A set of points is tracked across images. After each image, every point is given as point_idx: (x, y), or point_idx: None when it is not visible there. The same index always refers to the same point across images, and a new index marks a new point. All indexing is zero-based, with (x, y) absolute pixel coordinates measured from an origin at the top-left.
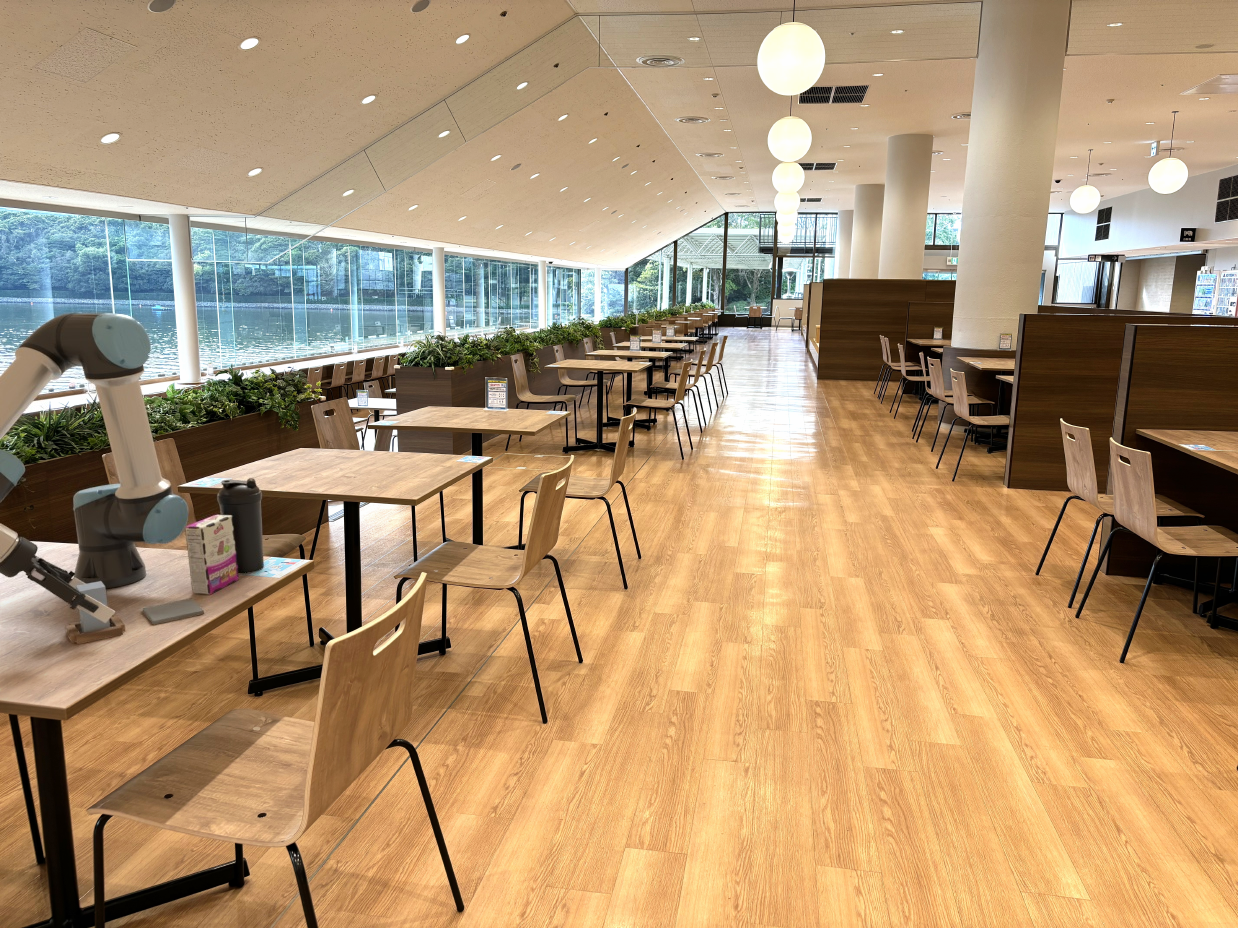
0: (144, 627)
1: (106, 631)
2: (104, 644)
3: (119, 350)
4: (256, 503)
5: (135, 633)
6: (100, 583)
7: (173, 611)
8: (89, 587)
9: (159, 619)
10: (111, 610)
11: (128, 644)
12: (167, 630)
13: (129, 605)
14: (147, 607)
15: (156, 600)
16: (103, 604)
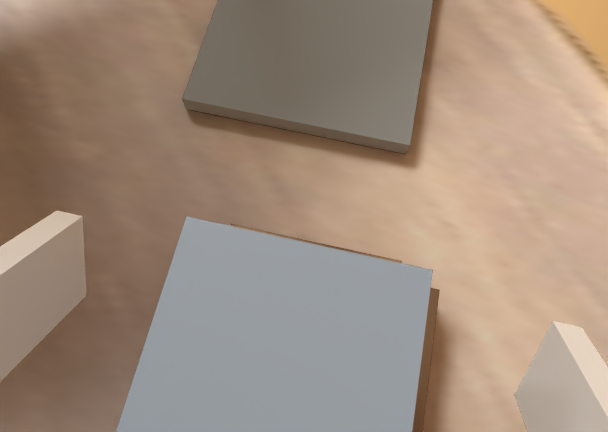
0: (409, 192)
1: (428, 369)
2: (509, 422)
3: None
4: None
5: (460, 252)
6: (268, 255)
7: (351, 41)
8: (319, 403)
9: (410, 118)
10: (593, 352)
11: (594, 339)
12: (527, 148)
13: (46, 108)
14: (195, 81)
15: (97, 16)
16: (595, 396)
